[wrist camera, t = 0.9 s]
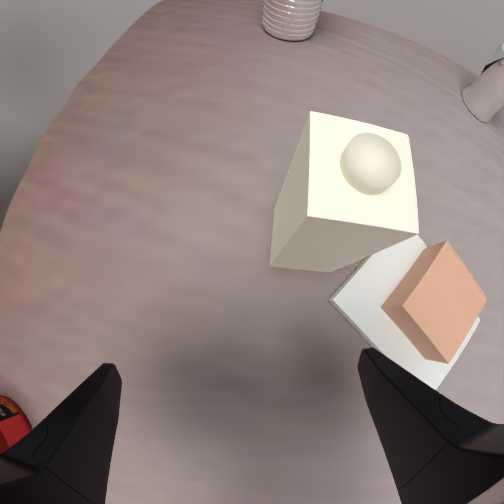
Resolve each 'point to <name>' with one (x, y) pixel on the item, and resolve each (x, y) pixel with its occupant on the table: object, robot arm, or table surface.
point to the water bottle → (291, 18)
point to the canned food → (11, 424)
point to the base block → (436, 303)
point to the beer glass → (487, 88)
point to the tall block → (343, 195)
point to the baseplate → (377, 321)
